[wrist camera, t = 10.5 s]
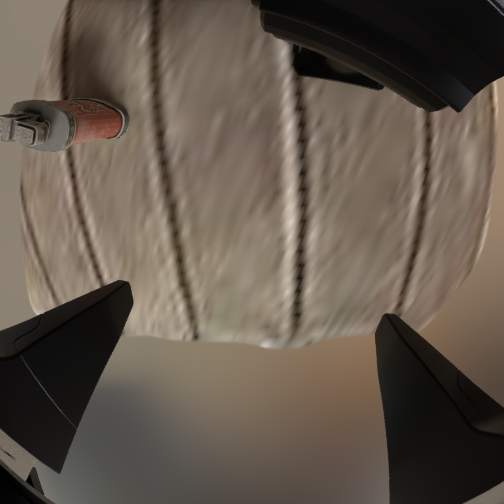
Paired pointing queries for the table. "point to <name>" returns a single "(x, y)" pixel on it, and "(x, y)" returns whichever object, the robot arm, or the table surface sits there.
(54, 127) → the lighter
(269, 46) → the table surface
